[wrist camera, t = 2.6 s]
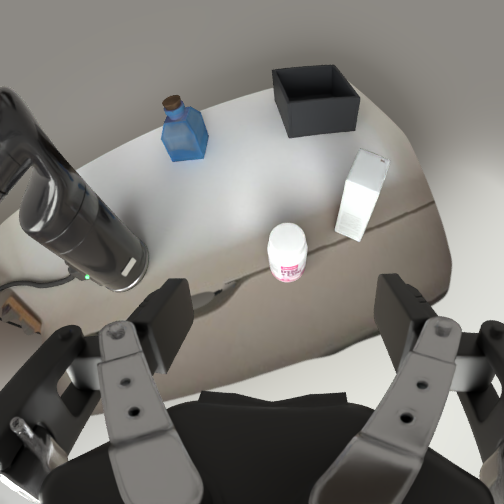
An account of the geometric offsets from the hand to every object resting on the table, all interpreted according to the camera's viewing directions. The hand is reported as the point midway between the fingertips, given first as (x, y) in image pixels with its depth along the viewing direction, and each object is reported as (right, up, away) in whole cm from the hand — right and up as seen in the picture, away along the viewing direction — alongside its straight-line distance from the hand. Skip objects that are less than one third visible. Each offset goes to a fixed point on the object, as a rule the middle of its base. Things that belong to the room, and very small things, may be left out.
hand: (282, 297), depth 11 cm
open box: (+11, +30, +40) cm, 51 cm away
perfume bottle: (-13, +22, +40) cm, 47 cm away
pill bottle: (+4, 0, +27) cm, 27 cm away
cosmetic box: (+14, +6, +29) cm, 33 cm away
